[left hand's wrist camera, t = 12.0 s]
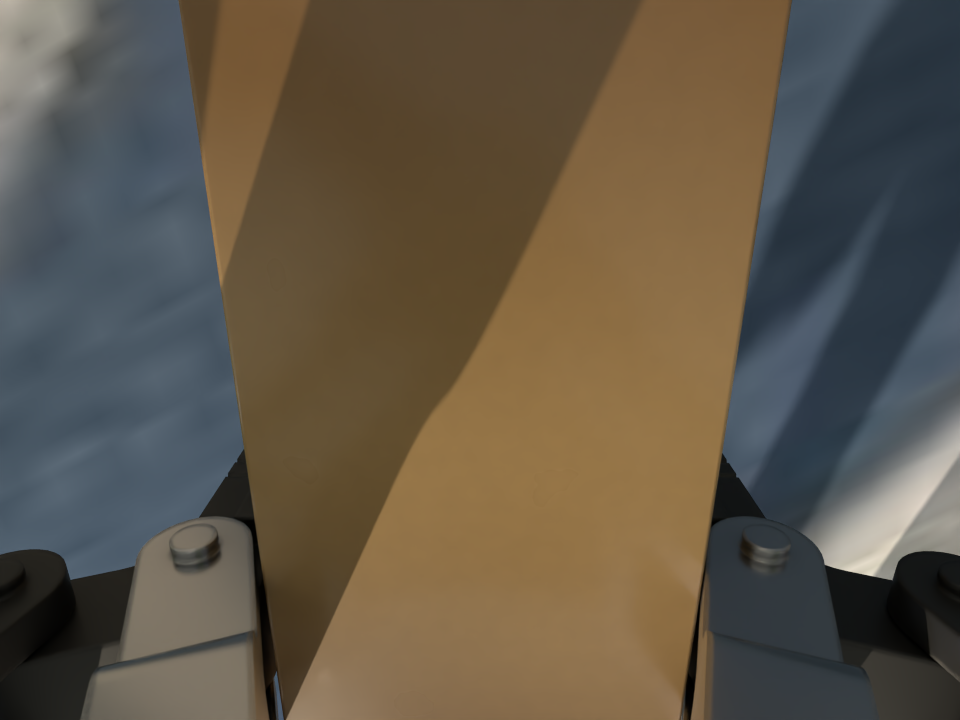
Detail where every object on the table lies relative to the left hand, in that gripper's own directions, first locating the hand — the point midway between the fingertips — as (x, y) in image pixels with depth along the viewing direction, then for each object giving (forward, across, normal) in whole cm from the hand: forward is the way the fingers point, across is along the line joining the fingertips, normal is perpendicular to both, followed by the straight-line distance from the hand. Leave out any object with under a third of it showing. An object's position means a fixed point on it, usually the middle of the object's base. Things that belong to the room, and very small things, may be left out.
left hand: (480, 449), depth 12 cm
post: (+4, 0, -24) cm, 24 cm away
